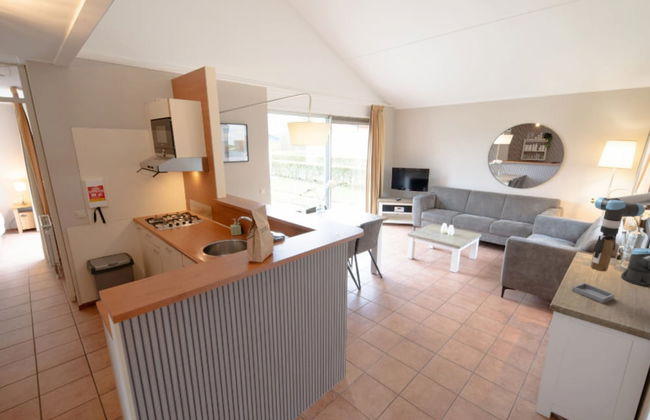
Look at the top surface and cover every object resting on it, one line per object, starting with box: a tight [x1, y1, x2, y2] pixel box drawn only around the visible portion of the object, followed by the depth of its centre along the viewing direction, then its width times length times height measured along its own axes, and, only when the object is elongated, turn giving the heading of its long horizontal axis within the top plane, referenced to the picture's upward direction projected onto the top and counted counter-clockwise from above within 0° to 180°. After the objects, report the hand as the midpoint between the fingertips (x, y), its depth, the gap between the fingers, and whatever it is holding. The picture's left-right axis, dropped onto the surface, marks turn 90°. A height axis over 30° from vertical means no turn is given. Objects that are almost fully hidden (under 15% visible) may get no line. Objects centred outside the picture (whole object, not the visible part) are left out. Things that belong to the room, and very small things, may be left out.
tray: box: [571, 282, 615, 304], centre depth 183 cm, size 13×16×3 cm
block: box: [590, 238, 615, 272], centre depth 176 cm, size 11×8×20 cm
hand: (601, 260), depth 177 cm, fingers closed on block, 11 cm apart
